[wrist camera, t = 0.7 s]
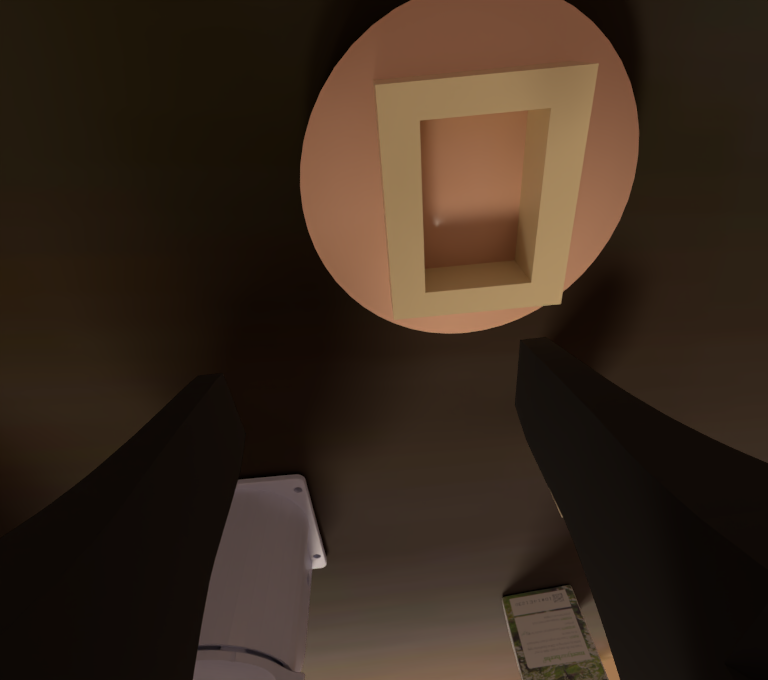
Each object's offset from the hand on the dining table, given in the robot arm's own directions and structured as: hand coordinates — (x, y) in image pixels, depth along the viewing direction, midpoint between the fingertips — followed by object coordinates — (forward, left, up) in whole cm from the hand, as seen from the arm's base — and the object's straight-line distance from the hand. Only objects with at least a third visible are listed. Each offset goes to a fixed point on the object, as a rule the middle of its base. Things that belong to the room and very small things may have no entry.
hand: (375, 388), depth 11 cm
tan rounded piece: (+2, -4, -10) cm, 11 cm away
